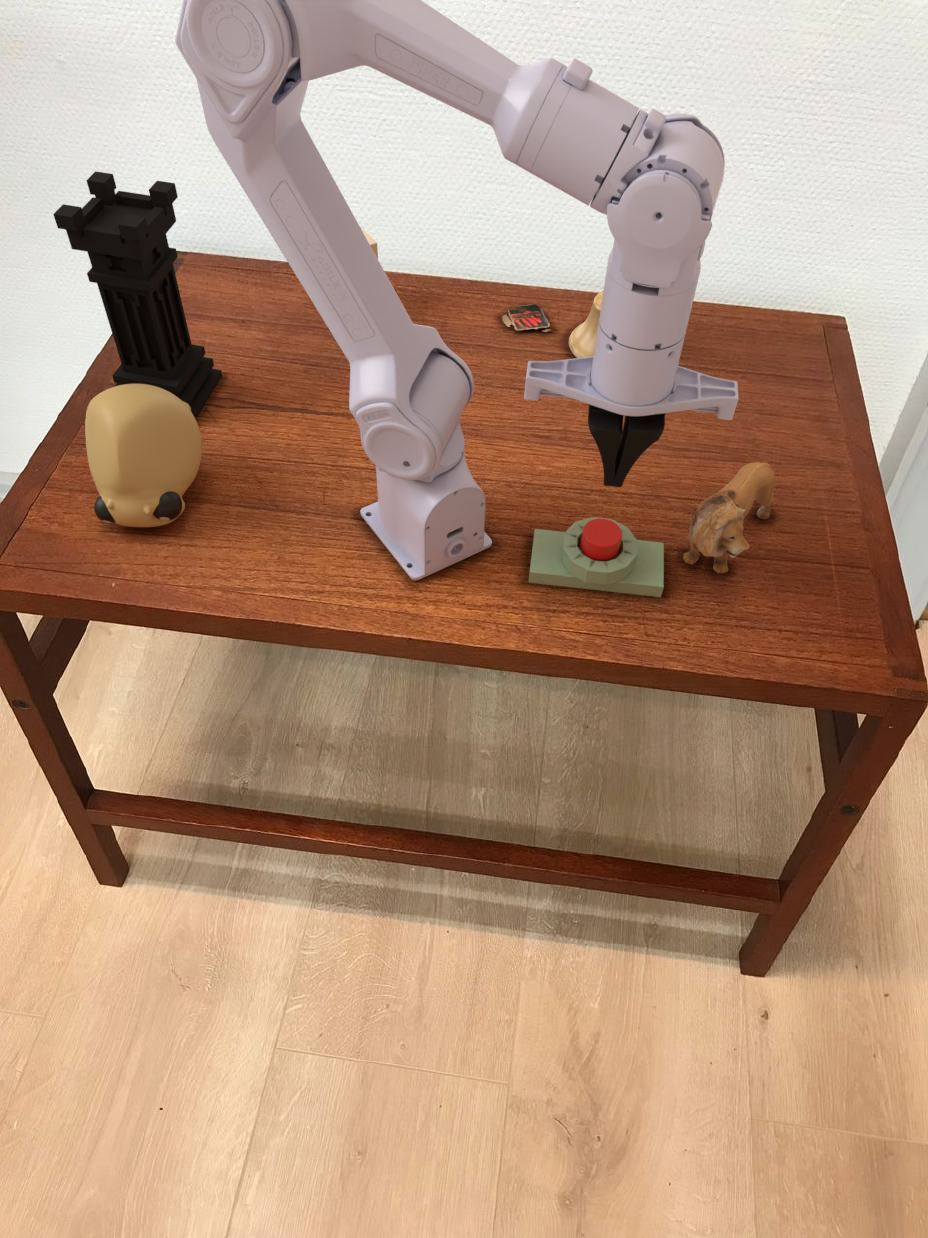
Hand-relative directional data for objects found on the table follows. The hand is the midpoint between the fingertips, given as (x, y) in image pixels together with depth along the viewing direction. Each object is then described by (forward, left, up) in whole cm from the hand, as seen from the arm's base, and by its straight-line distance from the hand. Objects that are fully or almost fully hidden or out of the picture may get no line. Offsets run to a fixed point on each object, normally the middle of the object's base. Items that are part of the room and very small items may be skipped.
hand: (613, 477), depth 74 cm
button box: (0, 0, -10) cm, 10 cm away
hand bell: (+24, -20, -11) cm, 33 cm away
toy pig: (+28, +28, -11) cm, 41 cm away
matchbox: (+32, -15, -10) cm, 37 cm away
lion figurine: (-4, -11, -11) cm, 16 cm away
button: (0, 0, -8) cm, 8 cm away
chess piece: (+40, +22, -11) cm, 47 cm away
